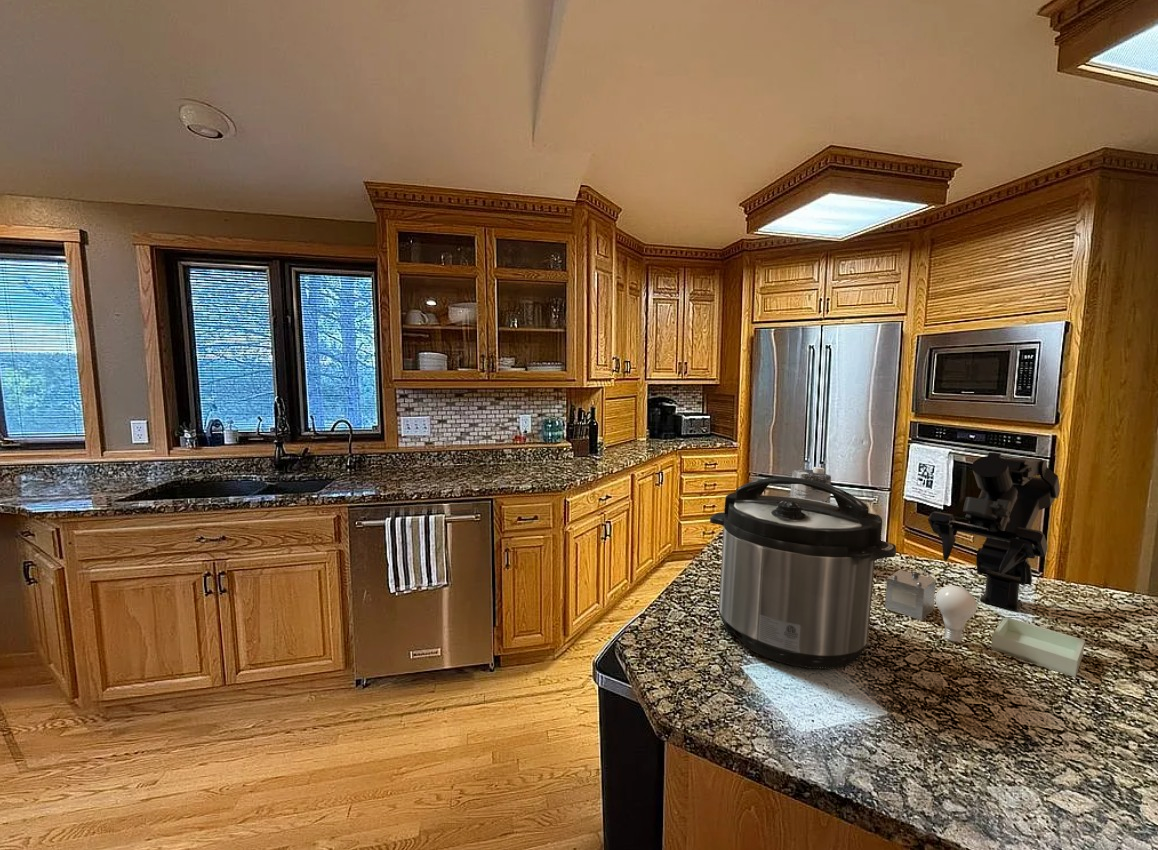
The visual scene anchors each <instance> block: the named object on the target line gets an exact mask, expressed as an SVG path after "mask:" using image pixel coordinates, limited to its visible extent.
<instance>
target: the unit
mask: <svg viewBox="0 0 1158 850" xmlns="http://www.w3.org/2000/svg"><path fill="white" fill-rule="evenodd" d="M936 582H937V581H936V579H934V578H931V577H927V576H924V575H921V574H919V572H916V571H912V572H908V571H905V570H902V569H899V570H897V571H896V572H895V573H893V574H891V575H890V576H888V577H886V587H885V600H884V601H885V603H884V609H886V610H890V611H892V612H895V613H898V614H901V615H904V616H906V617H911V618H913V619H917V620H919V621H923V620H924V619H925V618H926V617H927V616H929V615H930V614H931V613H932V612H933V611H934V609H935V607H934V606H935V596H936V584H937V583H936Z"/></svg>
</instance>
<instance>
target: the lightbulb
mask: <svg viewBox="0 0 1158 850" xmlns="http://www.w3.org/2000/svg"><path fill="white" fill-rule="evenodd" d="M934 603H935V604H936V607H937V609H938V611H939V612H940V614H941V615H942V620H943V624H944V634H943V636H944V637H945V639H947V640H948V641H950V642H951V643H958V642H961V641H962V638H963V637H962V636H963V635H962V634H963V629H964V628H965V626H966V623H967V622H968V621H969V620H970V619H971V618H973V616H974V615H975V614H976V613H977V609H978V605H977V600H976V599H975V597H974V596H973V595H972V593H971V592H970V591H968V590H967V589H966V588H964V587H961V586H958V585H945V586H943V587H941V588H939V589H938V591H937V592H935V597H934Z"/></svg>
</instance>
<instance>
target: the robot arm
mask: <svg viewBox="0 0 1158 850" xmlns="http://www.w3.org/2000/svg"><path fill="white" fill-rule="evenodd" d="M1047 466H1048V464H1047V460H1045V459H1042V458H1035V457H1027V456H1026V457H1025V456H1021V457H1018V458H1017V457H1016V458H1013V457H1003V456H1002V453H1001V452H1000V453H999V452H988V454H987V455H985V456H982V457H979V458H977V459H975V461H973V462H972V463H971V469H972V472H973V475H974V477H975V481H976V484H977V487H978V489H980V490H981V492H980V494H979V495H978V497H972V496H966V497H965V500H964V505H963V509H962V512H963V513H966V515H965V519H966V521H968V523H965V522H961V521H957V520H956V519H955V516H954V514H951V513H946V512H941V511H936V510H935V511H932V512H931V513H930V514H929V516H928V518H927V521H928V523H929V525H930V527H931V530H932V532H933V533H935V534H936V535H938V537H939V538H940V539H941V545H942V546H941V547H942V557H943V560H944V561H948V559H949V558H950V557H951V556H950V555H951V553H952V550H953V548H954V545H955V543H956V538H955V536H957V534H958V532H962V533H966V534H971V535H975V536H981V537H984V538H986V539H985V541H984V542H983V543H982V546H981V547H979V548H978V550H977V552H976V558H975V560H976V573H977V574H979V575H980V574H981V575H985V576H986V579H985V590H984V591H985V592H984V594H983V595H982V596H981V597H980V598H979V601H980V602H982V603H985V604H989V605H993V606H996V607H999V608H1003V609H1007V610H1011V611H1015V612H1017V611H1019V608H1020V607H1021V606H1022V604H1023V602H1022V601H1021V600H1019V591H1020V585H1021V586H1025V585H1032V584H1033V583H1032V582H1033V573H1032V572H1033V571H1032V568H1031V565H1030V562H1029V561H1030V560H1029V559H1032V560H1033V559H1035V558H1036V557H1040V558H1045V557H1046V555H1047V552H1048V543H1047V539H1046V535H1045V534H1044V532H1042V531H1041V530H1038V529H1033V528H1032V527H1033V525H1034V522H1035V520H1036V518H1037V516H1038V514H1039V511H1041V510H1044V509H1046V508H1047V509H1048V508H1049V507H1051V506H1052V505H1053V503H1054V501H1055V499H1059V497H1060V496H1059V495H1060V492H1061V487H1060V479H1059V476H1058V474H1056V473H1055V472H1054V471H1052V470H1051V469H1050V468H1049V467H1047ZM1036 476H1040V477H1036Z"/></svg>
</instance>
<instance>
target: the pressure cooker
mask: <svg viewBox="0 0 1158 850" xmlns="http://www.w3.org/2000/svg"><path fill="white" fill-rule="evenodd" d="M791 484H802V485H805V486H808V487H811V488H815V489H818V490H821V491H824V492H827V493H830V494H831V495H832V496H833V497H834V499H835V502H836V504H834V503H831V502H830V503H826V502H822V501H817V500H811V499H804V498H797V497H790V496H785V495H784V496H781V495H768V494H767V495H762V494H763V493H764V492H765V491H766V489H767V488H768V487H769V485H791ZM869 511H870V510H869V506H868V505H867V504H866V503H865V502H864V501H862V500H860V499H859V497H856V496H855V495H853V494H851V493H849V492H848V491H845V490H843V489H841V488H839V487H836V486H833V485H832V484H831V485H828V484H825V483H822V482H818V481H813V480H808V479H802V478H793V477H792V476H778V477H777V476H775V477H767V478H766V477H765V478H762V479H757V480H753V481H750V482H748V483H744V484H743V485H741V486H739V487H738V488H736V490H735V492H732V493H728V494H727V495H725V499H724V511H723V512H721V511H720V512H717V513H715V514H713V515H712V516H710V518H709V523H710V524H713V525H719V526H721V527H723V528H722V531H723V532H722V550H721V565H720V580H719V581H720V582H719V585H720V586H719V602H718V610H719V612H718V613H719V617H720V619H721V622H722V624H723V626H724V628H725V630H726V632H727V633H733V635H734V636H735V637H736V638H737V639H739V640H740V642H741V643H742V644H743V645H744V646H745V647H746V648H747V649H748V650H751V651H752V652H754V653H756V654H758V655H760V656H762V657H764V658H767V659H770V660H772V661H774V662H775V661H776V662H779V663H783V664H785V665H790V666H795V667H800V668H801V667H802V668H808V669H809V668H810V669H834V668H839V667H845V666H847V665H849V664H852V663H854V662H855V661H856V660H858V659H859V658H860V657H861V655H862V654H863V653H864V651H865V649H866V647H867V645H868V641H869V634H870V624H871V623H870V621H871V620H870V619H871V611H872V609H871V608H872V601H873V600H872V596H873V588H874V587H873V586H874V574H875V573H874V572H875V565H876V561H878V560H881V559H882V560H883V559H885V558H886V559H887V558H895V557H896V556H897V555H896V554H897V545H896V544H894V543H892V542H888V541H885V540H882V532H883V531H882V530H883V518H882V517H881V515H879V514H876V513H870V512H869Z"/></svg>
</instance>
